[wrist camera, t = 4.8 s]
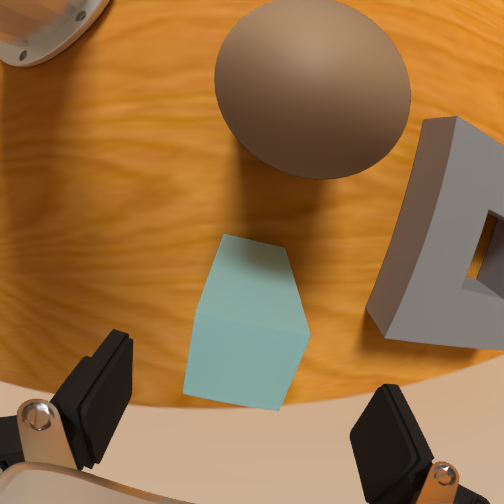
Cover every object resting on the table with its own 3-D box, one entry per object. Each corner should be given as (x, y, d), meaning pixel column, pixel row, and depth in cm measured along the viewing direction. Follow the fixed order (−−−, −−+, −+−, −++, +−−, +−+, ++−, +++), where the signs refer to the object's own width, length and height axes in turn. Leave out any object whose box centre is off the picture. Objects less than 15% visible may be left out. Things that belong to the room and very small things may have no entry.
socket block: (423, 119, 17) (456, 116, 13) (534, 187, 18) (564, 196, 14) (365, 308, 21) (384, 338, 17) (483, 328, 22) (506, 350, 18)
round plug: (248, 61, 16) (242, -21, 7) (343, 86, 16) (421, 37, 7) (225, 152, 18) (192, 152, 8) (321, 176, 18) (386, 203, 9)
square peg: (223, 233, 20) (195, 312, 10) (285, 247, 20) (310, 335, 10) (211, 289, 21) (182, 393, 11) (269, 301, 21) (278, 411, 12)
